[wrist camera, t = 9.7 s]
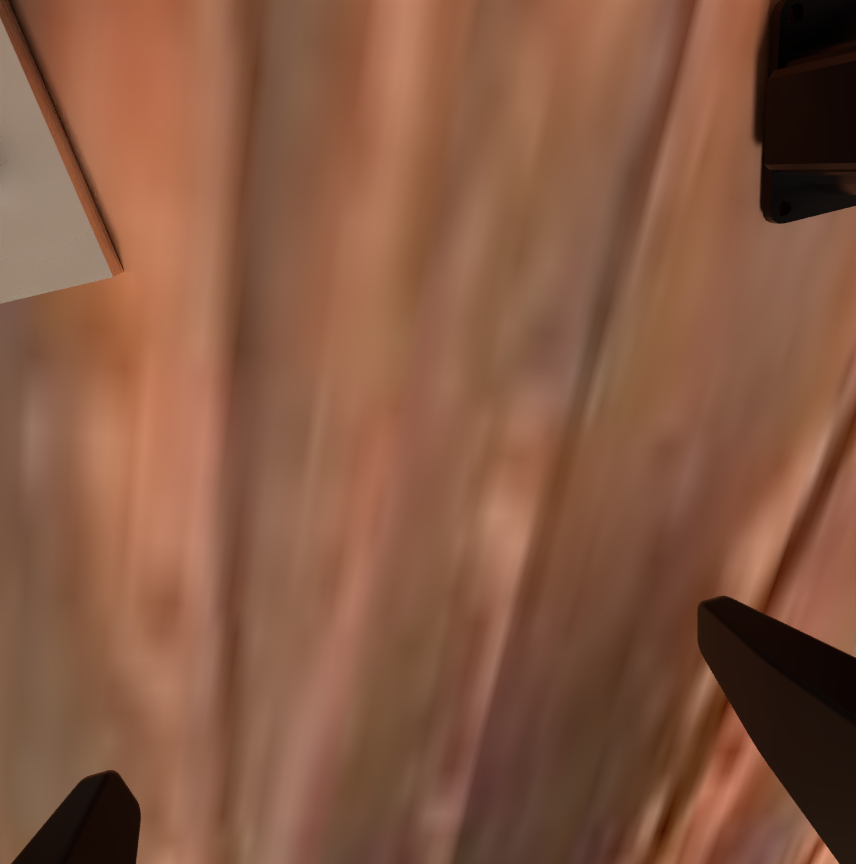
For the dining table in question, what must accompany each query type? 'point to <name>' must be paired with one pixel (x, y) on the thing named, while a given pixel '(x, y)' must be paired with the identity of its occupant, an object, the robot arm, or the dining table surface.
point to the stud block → (41, 186)
